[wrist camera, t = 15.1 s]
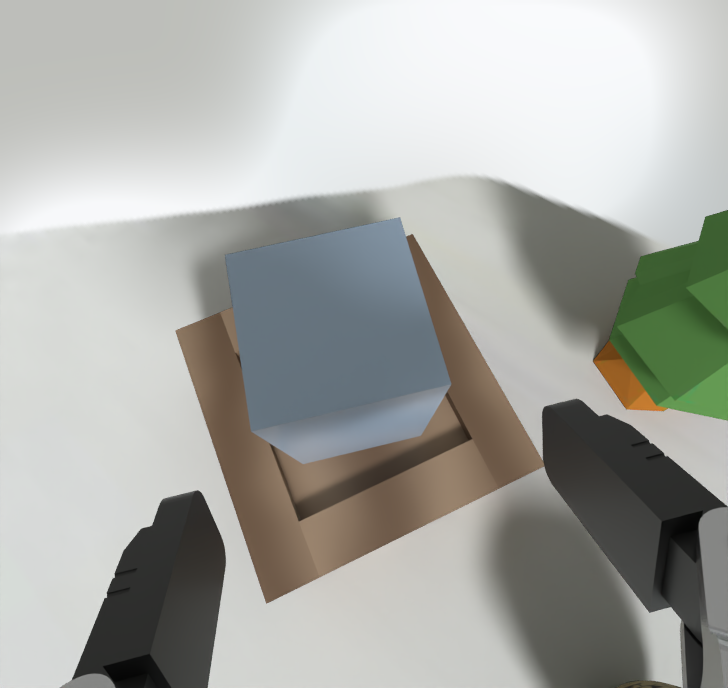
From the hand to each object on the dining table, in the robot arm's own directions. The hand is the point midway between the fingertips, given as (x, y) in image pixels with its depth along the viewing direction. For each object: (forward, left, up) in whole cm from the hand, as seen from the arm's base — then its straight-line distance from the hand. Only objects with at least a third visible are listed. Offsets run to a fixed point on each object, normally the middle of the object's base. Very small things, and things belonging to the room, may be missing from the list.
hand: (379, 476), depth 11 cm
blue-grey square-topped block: (-1, -5, -12) cm, 13 cm away
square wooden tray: (-1, -5, -18) cm, 19 cm away
